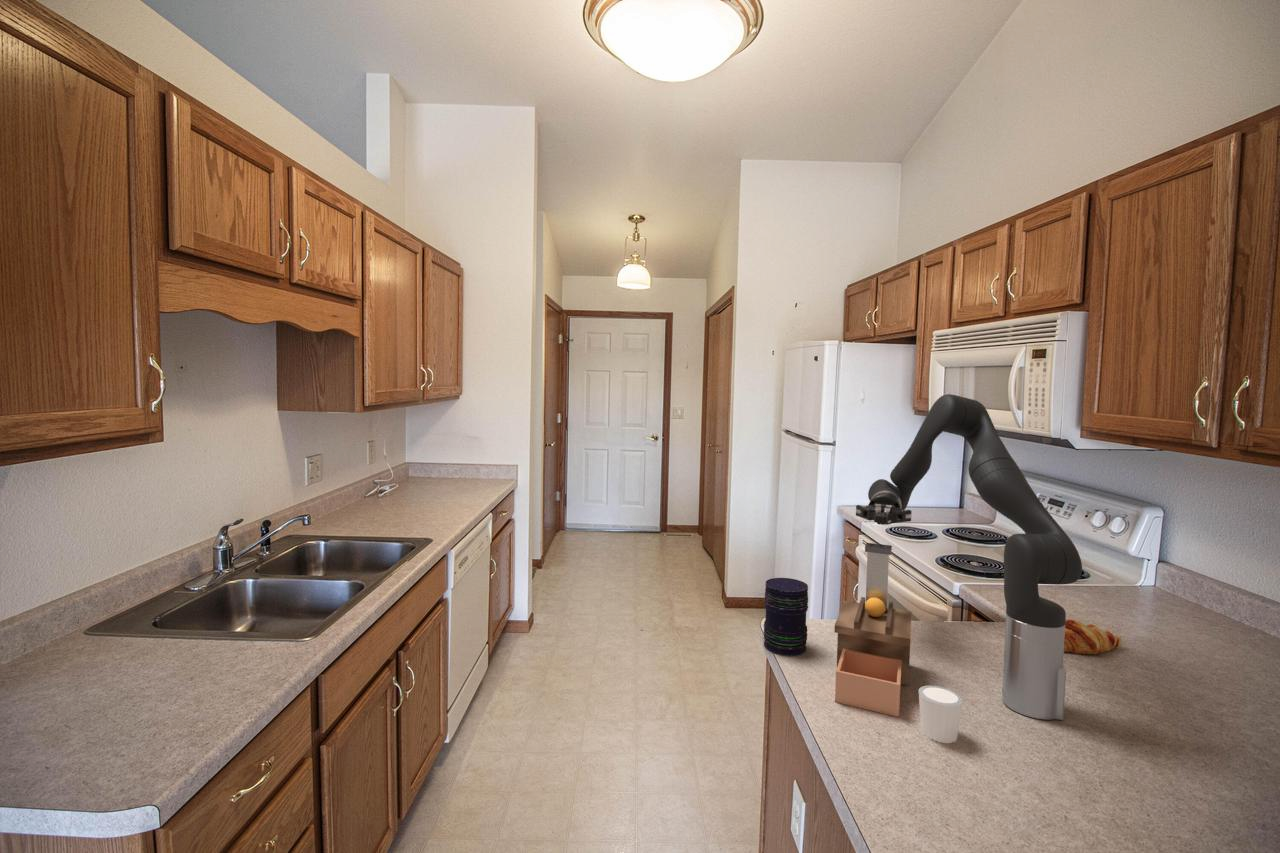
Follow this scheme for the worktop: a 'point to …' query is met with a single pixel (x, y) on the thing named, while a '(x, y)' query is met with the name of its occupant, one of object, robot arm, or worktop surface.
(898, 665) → the orange open drawer
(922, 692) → the white cylinder
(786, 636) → the dark blue ribbed barrel
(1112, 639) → the croissant
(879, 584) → the grey metal tall block
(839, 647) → the shelf
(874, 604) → the ball
